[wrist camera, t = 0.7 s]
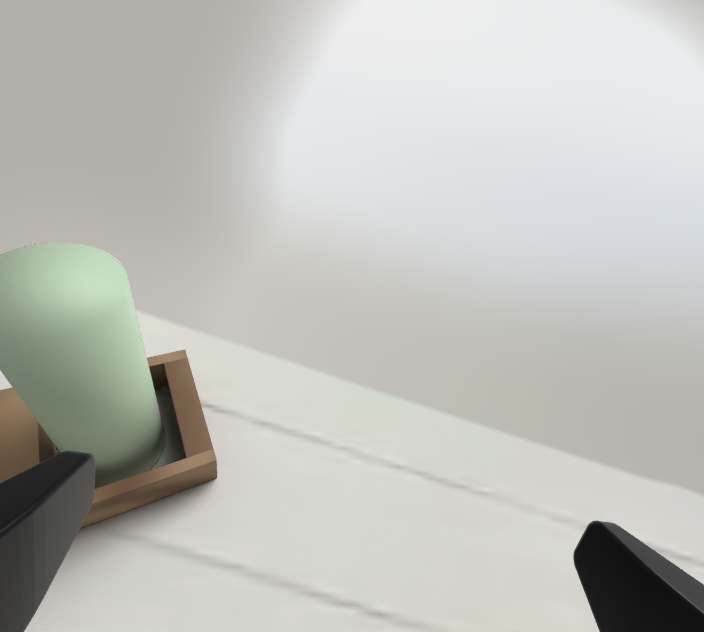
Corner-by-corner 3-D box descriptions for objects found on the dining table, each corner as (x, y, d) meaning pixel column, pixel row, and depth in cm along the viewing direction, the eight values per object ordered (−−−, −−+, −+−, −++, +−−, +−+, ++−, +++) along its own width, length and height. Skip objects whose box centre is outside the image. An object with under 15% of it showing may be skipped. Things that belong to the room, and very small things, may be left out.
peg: (110, 506, 19) (20, 369, 11) (50, 452, 20) (-77, 285, 12) (183, 439, 22) (157, 287, 14) (127, 394, 23) (70, 226, 15)
